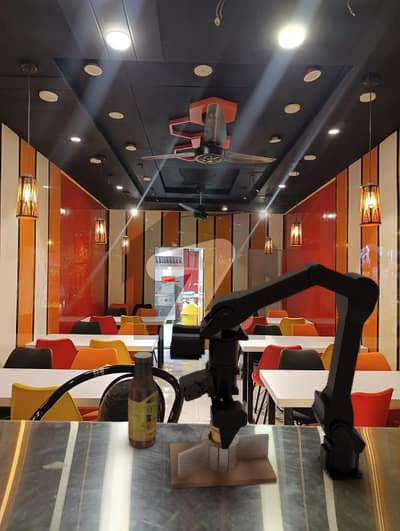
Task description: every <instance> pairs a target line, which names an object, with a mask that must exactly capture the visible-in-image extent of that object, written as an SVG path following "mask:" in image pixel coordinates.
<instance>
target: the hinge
mask: <svg viewBox="0 0 400 531" xmlns="http://www.w3.org/2000/svg"><path fill="white" fill-rule="evenodd" d="M201 442H202V444H199V445H197V446H195V447H192V448H190V449H188V450H185V451H183V452H181V453H178V479H179V480H182V479H184V478H186V477H188V476H190V475H192V474H194V473H196V472H198V471H200V470H202V469H204V468H207V469H209V470H212V471H215V472H227V471H228V472H229V471H231V470H233V469H235V467H236V466H237V465H238V463H239V460H244V459H264V458H269V446H270V445H269V444H270V443H269V442H270V435H269V433H252V434H249V433H247V434H239V432H237V434H236V436H235V437H234V439H233V441H232V442H231V444H230V446H229V448H228V449H222V447H221V444H220V445H219V444H216V443H213V442H212V429H211V428H210V427H208V428H206V429H204V431H203V432H202V434H201Z"/></svg>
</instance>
